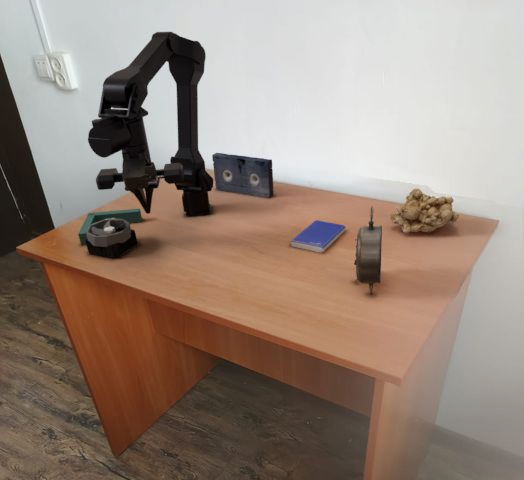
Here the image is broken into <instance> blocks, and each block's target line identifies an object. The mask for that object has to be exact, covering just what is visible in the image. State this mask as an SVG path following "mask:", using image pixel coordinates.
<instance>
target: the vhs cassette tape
mask: <svg viewBox="0 0 524 480" xmlns="http://www.w3.org/2000/svg"><path fill="white" fill-rule="evenodd" d="M211 158H212V162H213V163H212V166H213V175H214V182H215V183H214V184H215V189H216V191H222V192H223V191H224V192H229V193H233V194H234V193H236V194H242V195H247V196H254V197H260V198H266V199H267V198H271V197H272V196H274V175H273V170H274V169H273V159H268V158H263V157H262V158H261V157H252V156H247V155H237V154H229V153H222V152H215V153H213V154H212V157H211Z"/></svg>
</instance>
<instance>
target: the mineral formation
mask: <svg viewBox="0 0 524 480" xmlns="http://www.w3.org/2000/svg"><path fill="white" fill-rule="evenodd" d="M453 203H454V197H452V196H444V195H443V196H439V197H436V196H435V195H432V196H431V195H428V194H427V193H426V194H425V193H423V191H422V190H421V189H419V188H417V187H415V188H413V189H412V190H411V191H410V192H409V193H408V195H406V197H405V202H404V204H403V205H398V206H397V207H396V208H395V210H396V211H397V212H396V213H391V214H390V215H389V216H388V217H389V220H391V222H392V223H393V224H394V225H395V224H397V225H399V226H401V230H402V232H403V233H404V234H408V233H417V232H424V233H432V232H434V231H435V230H436V229H439V228H442V227H443V226H445V224H448V225H449V226H451V225H452V224H454V223H457V222H458V219H459V217H460V214H459V213H458V212H455V211H454V210H453Z"/></svg>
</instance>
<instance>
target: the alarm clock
mask: <svg viewBox="0 0 524 480" xmlns="http://www.w3.org/2000/svg"><path fill="white" fill-rule="evenodd" d="M369 216H370V217H369V218H370V220H369V221H368V225H362V226H361V227H360V228H359V229H358V231H357V235H356V238H355V239H354V240H355V242H356V245H355V248H356V249H355V259H354V262H353V265H354V266H355V276H356V279H355V280H354V283H357V282H358V283H360V284H368V285H369V287H368V288H369V292H368V294H369V295H370V296H372V295H373V290H374V284H380V283H381V279H382V278H381V277H382V276H381V275H382V274H381V273H382V243H383V242H382V241H383V225H374V223H375V222H374V220H373V219H374V205H371V206H370V215H369Z"/></svg>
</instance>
